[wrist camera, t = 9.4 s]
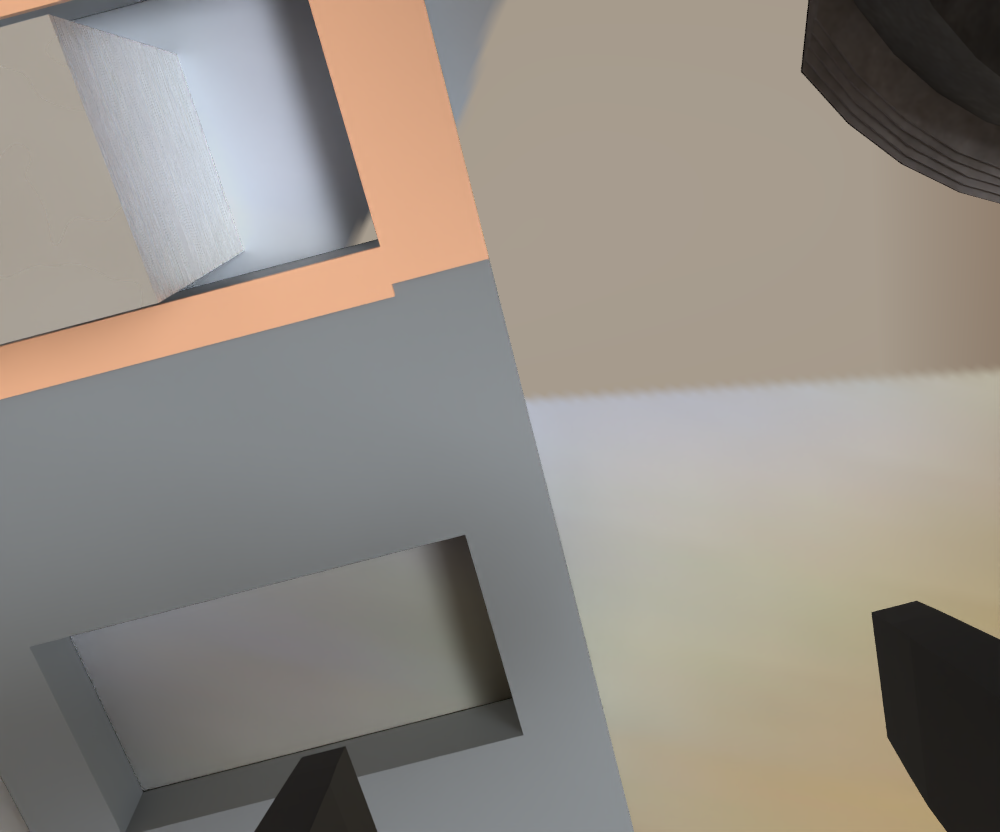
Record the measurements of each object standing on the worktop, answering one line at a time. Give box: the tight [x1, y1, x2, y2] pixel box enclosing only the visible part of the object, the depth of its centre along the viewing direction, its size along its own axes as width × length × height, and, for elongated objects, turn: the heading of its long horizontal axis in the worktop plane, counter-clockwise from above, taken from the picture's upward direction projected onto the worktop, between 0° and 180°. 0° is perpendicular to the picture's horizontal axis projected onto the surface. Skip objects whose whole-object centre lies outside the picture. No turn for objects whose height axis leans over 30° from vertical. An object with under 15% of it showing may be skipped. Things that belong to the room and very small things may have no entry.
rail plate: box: [0, 0, 634, 832], centre depth 19 cm, size 14×26×2 cm, turn 14°
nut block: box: [0, 14, 244, 344], centre depth 15 cm, size 4×4×6 cm
